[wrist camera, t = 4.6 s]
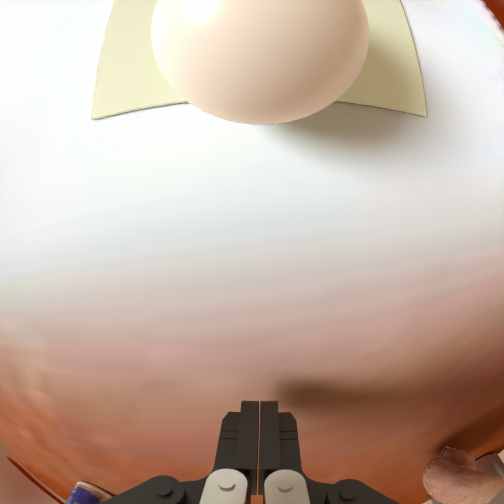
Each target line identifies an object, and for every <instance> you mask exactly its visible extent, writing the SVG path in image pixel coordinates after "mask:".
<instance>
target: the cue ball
mask: <svg viewBox="0 0 504 504" xmlns="http://www.w3.org/2000/svg"><path fill="white" fill-rule="evenodd" d="M151 41H152V48H153V52H154V56H155V59H156V61H157V64H158V66H159V68H160V70H161V72H162V74H163V75H164V77H165V78H166V80H167V81H168V82H169V84H170V85H171V86H172V87H173V88H174V89H175V90H176V91H177V92H178V93H179V94H180V95H181V96H182V97H183V98H184V99H186V100H187V101H188V102H190V103H191V104H193V105H194V106H196V107H197V108H199V109H201V110H203V111H205V112H207V113H209V114H211V115H213V116H216V117H219V118H222V119H225V120H229V121H233V122H237V123H243V124H253V125H271V124H280V123H286V122H290V121H294V120H298V119H302V118H305V117H307V116H310V115H312V114H314V113H316V112H318V111H320V110H322V109H324V108H326V107H327V106H329V105H330V104H331V103H333V102H334V101H336V100H337V99H338V98H339V97H340V96H341V95H342V94H343V93H344V92H345V91H346V90H348V89H349V88H350V86H351V85H352V83H353V82H354V81H355V79H356V78H357V76H358V75H359V73H360V71H361V69H362V67H363V64H364V62H365V59H366V56H367V51H368V46H369V24H368V19H367V14H366V11H365V8H364V6H363V3H362V1H361V0H158V2H157V5H156V7H155V10H154V13H153V18H152V25H151Z"/></svg>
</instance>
